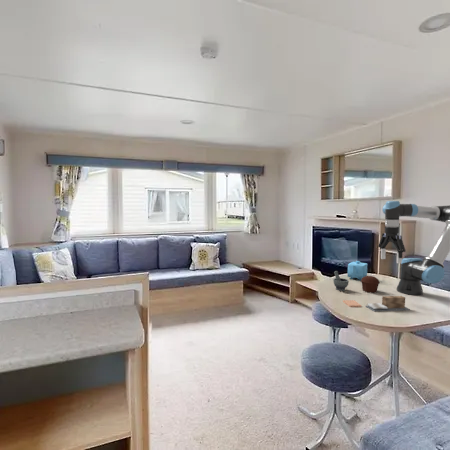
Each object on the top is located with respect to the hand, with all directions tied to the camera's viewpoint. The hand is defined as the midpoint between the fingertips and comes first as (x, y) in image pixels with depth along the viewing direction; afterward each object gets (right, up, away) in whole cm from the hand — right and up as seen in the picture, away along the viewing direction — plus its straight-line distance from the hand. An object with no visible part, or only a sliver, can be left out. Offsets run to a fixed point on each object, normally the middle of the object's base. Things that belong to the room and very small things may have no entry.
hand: (390, 261), depth 191 cm
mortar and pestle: (-23, -22, +23) cm, 39 cm away
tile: (-24, -24, -8) cm, 35 cm away
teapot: (+2, -20, +53) cm, 57 cm away
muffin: (-3, -23, +21) cm, 31 cm away
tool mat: (-9, -25, -14) cm, 30 cm away
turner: (-10, -25, -14) cm, 30 cm away
